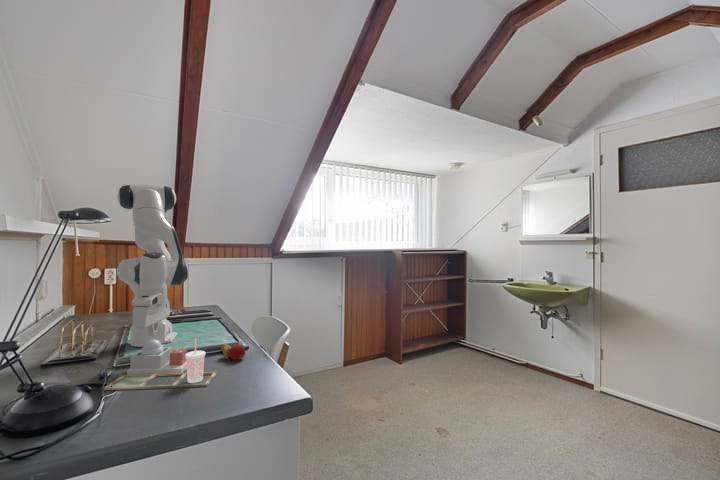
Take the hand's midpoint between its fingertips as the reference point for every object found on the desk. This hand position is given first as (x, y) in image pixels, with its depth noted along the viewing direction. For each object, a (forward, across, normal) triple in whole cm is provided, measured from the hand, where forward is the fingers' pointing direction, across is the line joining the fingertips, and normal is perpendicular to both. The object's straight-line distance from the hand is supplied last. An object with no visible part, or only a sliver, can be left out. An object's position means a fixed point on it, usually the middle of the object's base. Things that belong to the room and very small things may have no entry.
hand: (152, 334), depth 125 cm
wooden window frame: (+12, +13, +9) cm, 20 cm away
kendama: (+12, -12, +25) cm, 30 cm away
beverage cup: (+12, +13, +19) cm, 26 cm away
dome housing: (+12, 0, +3) cm, 13 cm away
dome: (+9, 0, 0) cm, 9 cm away
